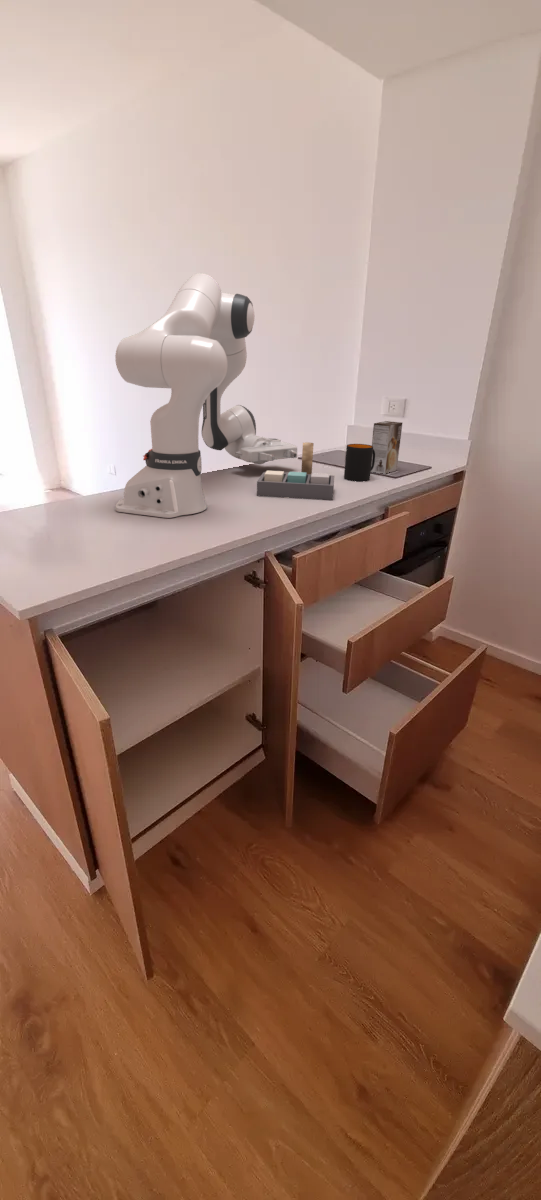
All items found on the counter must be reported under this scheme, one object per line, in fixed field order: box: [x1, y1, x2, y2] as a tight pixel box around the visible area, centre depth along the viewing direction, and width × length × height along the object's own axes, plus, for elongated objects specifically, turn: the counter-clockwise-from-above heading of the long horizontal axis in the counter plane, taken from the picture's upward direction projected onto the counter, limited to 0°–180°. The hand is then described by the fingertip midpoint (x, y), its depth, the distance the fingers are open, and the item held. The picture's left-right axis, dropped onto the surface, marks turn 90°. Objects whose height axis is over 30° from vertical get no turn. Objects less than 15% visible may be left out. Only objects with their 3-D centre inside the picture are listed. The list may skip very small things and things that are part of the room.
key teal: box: [287, 471, 307, 483], centre depth 147 cm, size 5×5×3 cm
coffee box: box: [371, 420, 403, 475], centre depth 176 cm, size 9×6×16 cm
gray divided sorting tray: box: [256, 471, 335, 501], centre depth 148 cm, size 21×13×4 cm, turn 83°
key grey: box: [310, 472, 330, 485], centre depth 147 cm, size 5×5×3 cm
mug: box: [343, 443, 375, 483], centre depth 166 cm, size 8×12×10 cm
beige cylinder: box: [300, 441, 314, 474], centre depth 157 cm, size 3×3×12 cm
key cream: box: [264, 470, 285, 482], centre depth 148 cm, size 5×5×3 cm
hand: (284, 456), depth 164 cm, fingers open, 8 cm apart
